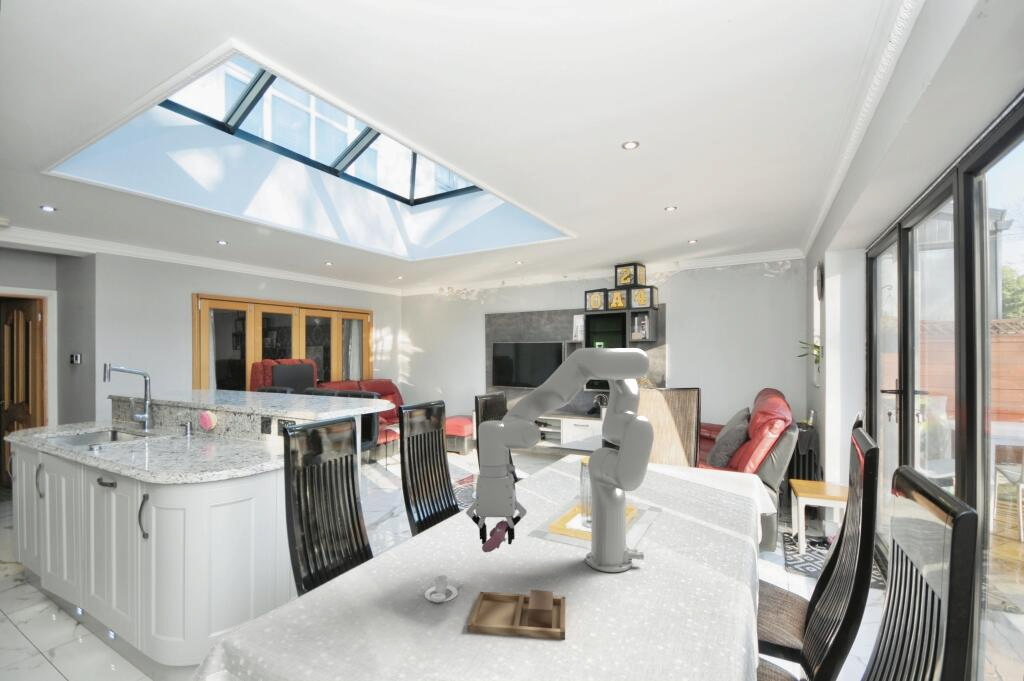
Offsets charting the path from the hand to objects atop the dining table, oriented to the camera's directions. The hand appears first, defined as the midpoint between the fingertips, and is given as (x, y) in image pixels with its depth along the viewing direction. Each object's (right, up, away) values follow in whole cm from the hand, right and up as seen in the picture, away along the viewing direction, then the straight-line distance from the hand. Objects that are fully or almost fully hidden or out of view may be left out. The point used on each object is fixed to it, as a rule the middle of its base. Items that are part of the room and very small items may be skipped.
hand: (497, 541), depth 118 cm
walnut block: (+10, -10, -16) cm, 21 cm away
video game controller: (0, -1, 0) cm, 1 cm away
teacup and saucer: (-16, -11, -6) cm, 21 cm away
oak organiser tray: (+5, -10, -16) cm, 19 cm away
